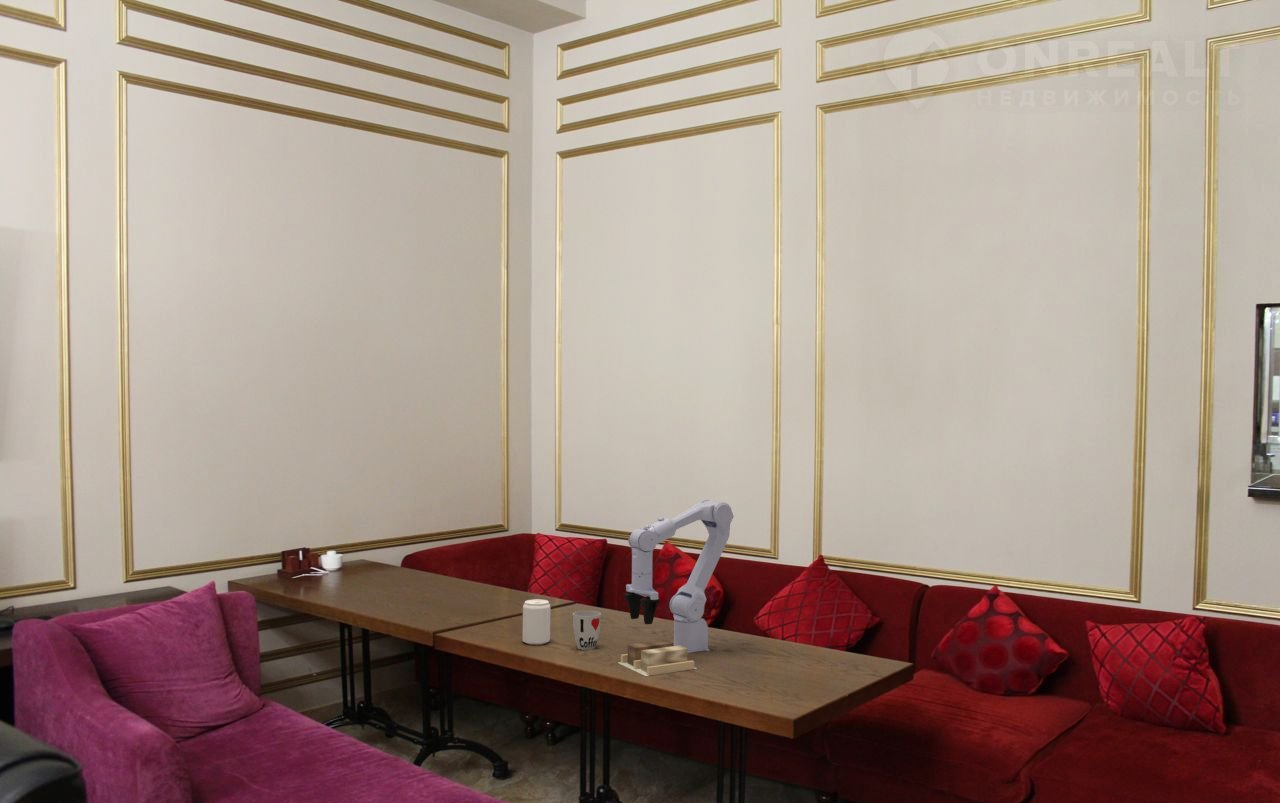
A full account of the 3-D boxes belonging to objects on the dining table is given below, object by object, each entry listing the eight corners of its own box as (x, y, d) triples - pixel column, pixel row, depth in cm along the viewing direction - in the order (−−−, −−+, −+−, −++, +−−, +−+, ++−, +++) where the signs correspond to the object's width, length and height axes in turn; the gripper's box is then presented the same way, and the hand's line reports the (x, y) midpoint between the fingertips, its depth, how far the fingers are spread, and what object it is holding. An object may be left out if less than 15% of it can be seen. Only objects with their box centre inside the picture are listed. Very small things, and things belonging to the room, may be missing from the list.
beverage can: (517, 643, 287) (517, 602, 287) (532, 637, 294) (533, 597, 294) (540, 646, 283) (540, 605, 283) (555, 641, 291) (555, 600, 291)
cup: (575, 652, 278) (575, 616, 278) (569, 645, 285) (570, 611, 286) (603, 650, 280) (603, 615, 280) (596, 644, 288) (597, 609, 288)
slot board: (667, 657, 272) (667, 648, 272) (697, 670, 259) (697, 660, 259) (617, 664, 264) (617, 655, 264) (645, 678, 251) (645, 668, 251)
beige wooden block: (679, 664, 264) (679, 645, 264) (687, 667, 260) (687, 648, 260) (640, 669, 258) (641, 650, 258) (648, 673, 254) (648, 653, 254)
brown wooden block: (665, 658, 270) (665, 640, 270) (673, 661, 266) (673, 643, 266) (627, 663, 264) (627, 644, 264) (634, 666, 260) (635, 648, 260)
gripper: (617, 569, 278) (616, 617, 278) (642, 577, 265) (642, 627, 265) (638, 568, 281) (638, 615, 281) (664, 575, 269) (664, 625, 269)
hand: (641, 621), depth 273 cm, fingers open, 7 cm apart
